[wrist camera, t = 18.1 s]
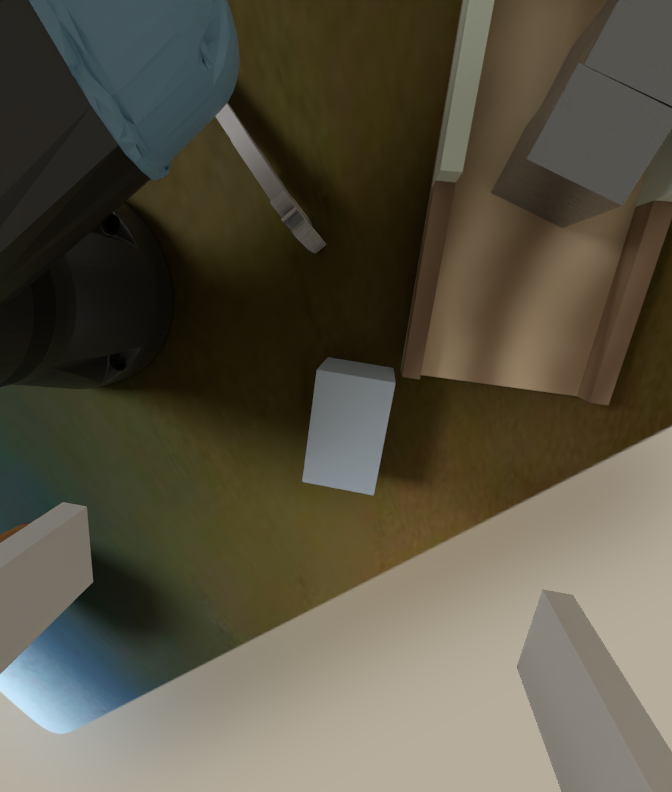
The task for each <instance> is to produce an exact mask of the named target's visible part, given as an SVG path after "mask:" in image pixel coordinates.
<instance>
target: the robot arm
mask: <svg viewBox="0 0 672 792" xmlns="http://www.w3.org/2000/svg"><path fill="white" fill-rule="evenodd" d="M238 72H239V45H238V37H237V33H236V28H235V24H234V20H233V17H232V13H231V10H230V7H229V5H228V2H227V0H0V387H2V386H6V385H10V384H12V385H27V386H41V387H55V388H70V389H88V388H96V387H101V386H105V385H108V384H111V383H114V382H117V381H120V380H123V379H126V378H129V377H131V376H133V375H135V374H136V373H138V372H140V371H141V370H142V369H144V368H145V367H146V366H147V365H148V364H149V363H150V362H151V361H152V360H153V359H154V358H155V356H156V355H157V354H158V352H159V351H160V349H161V348H162V346H163V344H164V342H165V339H166V337H167V334H168V331H169V328H170V324H171V319H172V311H173V291H172V283H171V278H170V274H169V269H168V266H167V263H166V260H165V258H164V255H163V253H162V250H161V248H160V246H159V244H158V242H157V241H156V239H155V237H154V235H153V234H152V232H151V231H150V229H149V228H148V227H147V225H146V224H145V223H144V221H143V220H142V219H141V218H140V217H139V216H138V215H137V213H136V212H135V211H134V210H133V209H131V208H130V207H129V206H128V205H127V204H126V203H125V201H126V200H128V199H129V198H130V197H131V196H132V195H133V194H134V193H136V192H137V191H138V190H139V189H140V188H141V187H142V186H144V185H145V184H146V183H147V182H148V181H149V180H150V179H152V180H154V181H156V180H157V179H161V178H163V177H164V176H166V175H167V174H168V173H169V171H170V167H171V160H172V159H173V158H174V157H175V156H176V155H177V154H178V153H179V152H180V151H181V150H182V149H183V148H184V147H185V146H186V145H187V144H188V143H189V142H190V141H191V140H192V139H193V138H194V137H195V136H196V135H197V134H198V133H199V132H200V131H201V130H202V129H203V128H204V127H205V126H206V125H207V124H208V123H209V122H210V121H211V120H212V119H213V118H214V117H215V116H216V115H217V114H218V113H219V112H220V111H221V110H222V109H223V108H224V106H225V105H226V104H227V102H228V101H229V99H230V97H231V95H232V93H233V91H234V88H235V85H236V82H237V77H238ZM92 583H93V573H92V561H91V550H90V539H89V527H88V516H87V507H86V506H81V505H75V504H70V503H64V502H63V503H61V504H60V505H58V506H56V507H55V508H53V509H52V510H50V511H49V512H47V513H46V514H44V515H43V516H41V517H40V518H38V519H36V520H35V521H33V522H32V523H30V524H29V525H27V526H26V527H24V528H23V529H21V530H19V531H18V532H16V533H15V534H13V535H12V536H10V537H9V538H7V539H6V540H4V541H3V542H1V543H0V674H1V673H2V672H3V671H4V670H5V669H6V668H7V667H8V666H9V665H10V664H11V663H12V662H13V661H14V660H15V659H16V658H17V657H18V656H19V655H20V654H21V653H22V652H23V651H24V650H25V649H26V648H27V647H28V646H29V645H30V644H31V643H32V642H33V641H34V640H35V639H36V638H37V637H38V636H39V635H40V634H41V633H42V632H43V631H44V630H45V629H46V628H47V627H48V626H49V625H50V624H51V623H52V622H53V621H54V620H55V619H56V618H57V617H58V616H59V615H60V614H61V613H62V612H63V611H64V610H65V609H66V608H67V607H68V606H69V605H70V604H71V603H72V602H73V601H74V600H75V599H76V598H77V597H78V596H79V595H80V594H81V593H82V592H83V591H84V590H85V589H86V588H87V587H89V586H90V585H91V584H92ZM517 669H518V671H519V674H520V677H521V680H522V683H523V685H524V688H525V691H526V694H527V697H528V699H529V702H530V705H531V708H532V710H533V713H534V716H535V719H536V722H537V724H538V727H539V730H540V733H541V735H542V738H543V741H544V744H545V747H546V749H547V752H548V755H549V758H550V761H551V763H552V766H553V769H554V772H555V775H556V777H557V780H558V783H559V786H560V788H561V791H562V792H672V752H671V750H670V749H669V747H668V745H667V744H666V742H665V741H664V739H663V738H662V736H661V734H660V733H659V731H658V730H657V728H656V726H655V725H654V723H653V722H652V720H651V718H650V717H649V715H648V714H647V712H646V711H645V709H644V707H643V706H642V704H641V703H640V701H639V700H638V698H637V696H636V695H635V693H634V692H633V690H632V689H631V687H630V685H629V684H628V682H627V681H626V679H625V677H624V676H623V674H622V672H621V671H620V669H619V668H618V666H617V665H616V663H615V661H614V660H613V658H612V657H611V655H610V653H609V652H608V650H607V649H606V647H605V645H604V644H603V642H602V641H601V639H600V638H599V636H598V635H597V633H596V631H595V630H594V628H593V626H592V625H591V623H590V622H589V620H588V619H587V617H586V615H585V614H584V612H583V611H582V609H581V608H580V606H579V604H578V603H577V601H576V599H575V598H574V596H573V595H570V594H564V593H558V592H553V591H547V590H542V593H541V596H540V599H539V602H538V606H537V608H536V611H535V614H534V617H533V620H532V623H531V626H530V629H529V632H528V635H527V638H526V641H525V644H524V647H523V650H522V653H521V656H520V659H519V663H518V665H517Z"/></svg>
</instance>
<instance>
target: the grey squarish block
mask: <svg viewBox="0 0 672 792" xmlns="http://www.w3.org/2000/svg"><path fill="white" fill-rule="evenodd" d="M671 129H672V108H670V107H668V106H666V105H664V104H662V103H660V102H658V101H656V100H654V99H652V98H650V97H648V96H645V95H643V94H641V93H639V92H637V91H635V90H633V89H631V88H629V87H627V86H625V85H623V84H621V83H619V82H617V81H615V80H613V79H611V78H609V77H607V76H605V75H603V74H601V73H599V72H597V71H595V70H592V69H590V68H588V67H586V66H584V65H582V64H580V63H578V65H577V66H576V67H575V68H574V69H573V70H572V72H571V73H570V74H569V75H568V76H567V78H566V79H565V80H564V81H563V82H562V83H561V85H560V86H559V87H558V88H557V89H556V91H555V92H554V93H553V94H552V95H551V96H550V98H549V99H548V100H547V101H546V102H545V104H544V105H543V106H542V107H541V108H540V109H539V111H538V112H537V113H536V114H535V115H534V117H533V118H532V119H531V120H530V121H529V122H528V124H527V125H526V127H525V129H524V131H523V133H522V135H521V137H520V139H519V140H518V142H517V144H516V146H515V148H514V150H513V152H512V154H511V156H510V157H509V159H508V161H507V163H506V165H505V167H504V169H503V171H502V173H501V174H500V176H499V178H498V180H497V182H496V184H495V186H494V188H493V190H492V191H491V193H492V194H494V195H496V196H498V197H500V198H502V199H504V200H506V201H508V202H510V203H512V204H514V205H516V206H518V207H520V208H522V209H524V210H526V211H529V212H531V213H533V214H535V215H537V216H539V217H541V218H543V219H545V220H547V221H549V222H551V223H553V224H555V225H557V226H559V227H561V228H564V227H567V226H570V225H572V224H575V223H578V222H580V221H583V220H586V219H588V218H591V217H594V216H597V215H599V214H602V213H605V212H607V211H610V210H613V209H616V208H618V207H621V206H623V204H624V203H625V201H626V200H627V198H628V196H629V195H630V193H631V192H632V190H633V189H634V187H635V185H636V184H637V182H638V181H639V179H640V178H641V176H642V175H643V173H644V171H645V170H646V168H647V167H648V165H649V164H650V162H651V160H652V159H653V157H654V156H655V154H656V153H657V151H658V149H659V148H660V146H661V145H662V143H663V142H664V140H665V139H666V137H667V135H668V134H669V132H670V131H671Z"/></svg>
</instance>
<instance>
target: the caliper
mask: <svg viewBox="0 0 672 792" xmlns="http://www.w3.org/2000/svg"><path fill="white" fill-rule="evenodd" d="M215 117H216V118H217V120H218V121H219V123H220V124H221V126H222V127H223V129H224V130H225V132H226V133H227V135H228V136H229V137H230V139H231V140H232V141H231V142H232V143H233V145H234V146H235V148H236V149H237V151H238V152H239V154H240V155H241V157H242V158H243V160H244V161H245V163H246V164H247V166H248V167H249V169H250V170H251V172H252V173H253V175H254V176H255V178H256V179H257V181H258V182H259V184H260V185H261V187H262V188H263V190H264V191H265V193H266V194H267V196H268V197H269V199H270V200H271V201H270V202H269V203H270V204H271V205H272V206H273V208H274V209H275V210H276V211H277V213H278V214H279V215H280V216H281V217H282V219H281V220H282V222H283V223H284V224H285V225H286V226H287V227H288V228H289V229H290V230H291V231H292V233H293V234H294V236H295V237H296V238H297V239H298V240H299V241H300V242H301V243H302V244H303V245H304V246H305V247H306V248H307V249H308V250H310V251H311V252H313V253H315V254H316V253H317V252H318V251H320V250H321V249H322V248H323V247H325V246H326V243H325V242H324V240H323V239H322V238H321V236H320V235H319V234H318V233H317V232H316V231H315V229H314V228H313V227H312V226H311V225H312V222H311V221H310V220H309V218H308V217H307V215H306V214H305V213H304V212H303V210H302V209H301V208H300V206H299V205H298V204H297V202H296V201H295V200H294V199H293V197H292V196H291V195H290V193H289V192H288V191H287V189H286V188H285V186H284V185H283V183H282V181H281V180H280V178H279V177H278V175H277V174H276V172H275V171H274V169H273V168H272V166H271V165H270V163H269V162H268V160H267V159H266V157H265V156H264V154H263V153H262V152H261V150H260V149H259V148H258V146H257V145H256V144H255V142H254V141H253V139H252V138H251V136H250V135H249V133H248V132H247V130H246V129H245V127H244V126H243V124H242V123H241V121H240V120H239V118H238V117H237V115H236V114H235V112H234V111H233V109H232V108H231V106H230V105H229V103H228V102H227V104H226V105H225V106H224V108H223V109H222V110H221V111H220V112H219V113H218V114H217V115H216V116H215Z"/></svg>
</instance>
